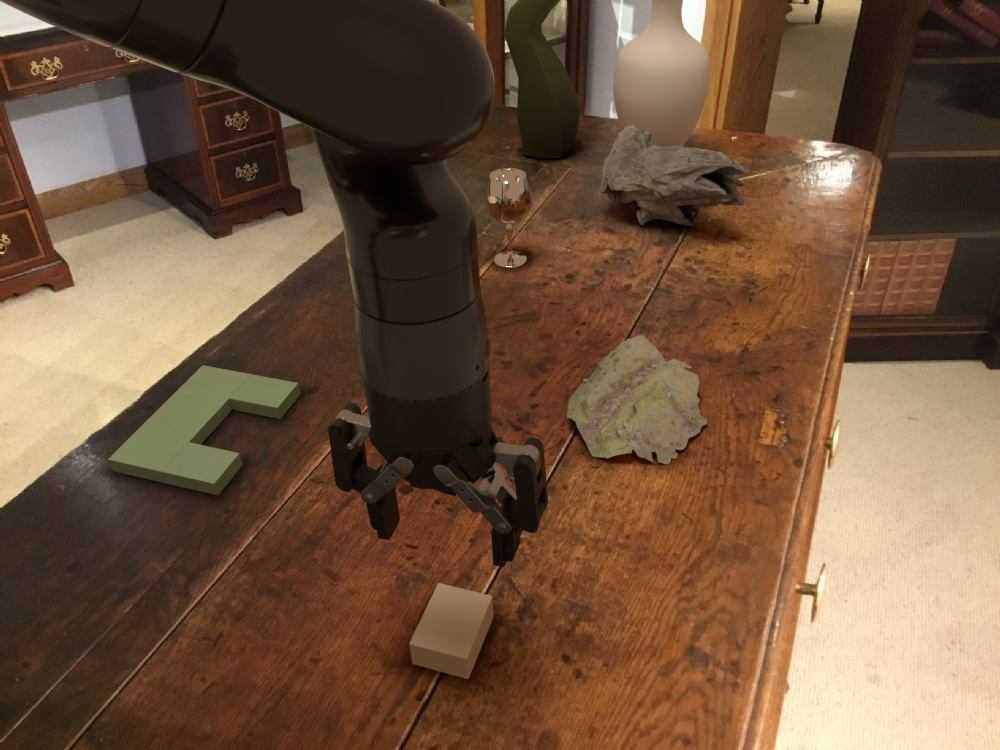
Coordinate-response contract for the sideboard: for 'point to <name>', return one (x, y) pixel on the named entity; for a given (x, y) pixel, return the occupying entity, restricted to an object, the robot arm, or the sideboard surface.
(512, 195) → the wineglass
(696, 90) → the vase
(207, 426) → the green c-shaped block
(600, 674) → the sideboard surface
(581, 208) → the sideboard surface
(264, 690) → the sideboard surface
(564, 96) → the tentacle
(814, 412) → the sideboard surface
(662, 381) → the mossy green rock
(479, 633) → the cream pad
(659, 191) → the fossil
